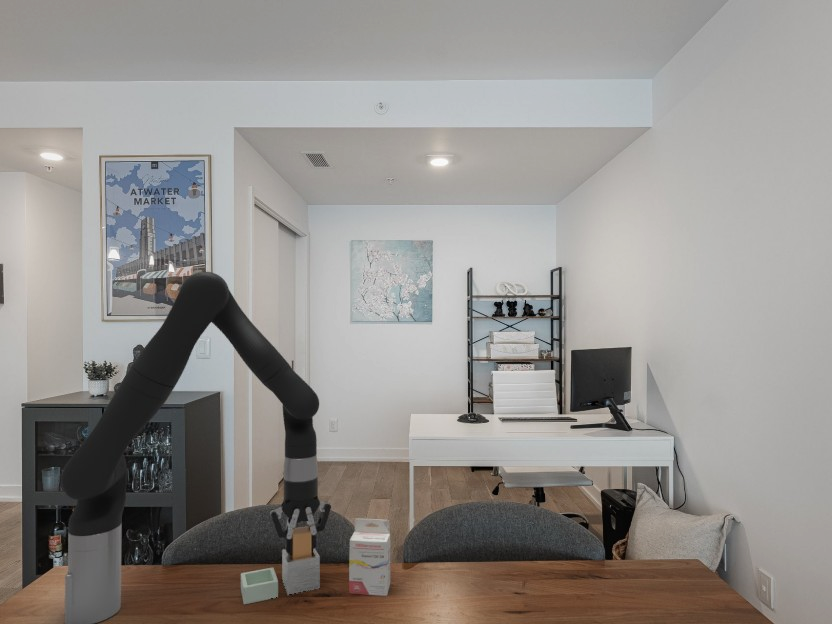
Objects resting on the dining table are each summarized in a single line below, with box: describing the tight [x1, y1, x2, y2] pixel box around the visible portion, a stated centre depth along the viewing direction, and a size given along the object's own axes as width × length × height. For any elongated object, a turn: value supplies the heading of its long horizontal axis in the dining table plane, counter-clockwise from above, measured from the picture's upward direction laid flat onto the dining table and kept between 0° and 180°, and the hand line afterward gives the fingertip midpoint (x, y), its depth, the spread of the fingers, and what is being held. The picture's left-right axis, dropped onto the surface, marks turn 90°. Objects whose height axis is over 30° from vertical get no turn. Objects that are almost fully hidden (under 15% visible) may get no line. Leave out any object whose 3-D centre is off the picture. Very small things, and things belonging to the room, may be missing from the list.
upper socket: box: [281, 548, 321, 596], centre depth 116 cm, size 7×7×7 cm
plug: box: [290, 525, 311, 560], centre depth 117 cm, size 4×4×8 cm
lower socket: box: [240, 567, 279, 605], centre depth 113 cm, size 7×7×3 cm
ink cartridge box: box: [348, 517, 391, 597], centre depth 114 cm, size 9×5×15 cm, turn 84°
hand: (300, 551), depth 117 cm, fingers closed on plug, 4 cm apart
